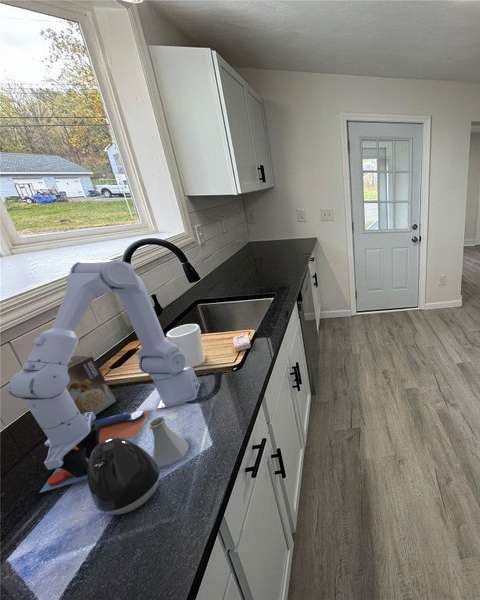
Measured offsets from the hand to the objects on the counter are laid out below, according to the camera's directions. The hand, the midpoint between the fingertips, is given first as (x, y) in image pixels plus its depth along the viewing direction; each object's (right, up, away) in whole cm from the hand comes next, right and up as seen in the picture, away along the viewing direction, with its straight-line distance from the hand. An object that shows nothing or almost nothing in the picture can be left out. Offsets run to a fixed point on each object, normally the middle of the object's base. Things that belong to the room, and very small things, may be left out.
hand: (89, 465), depth 70 cm
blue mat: (-2, -1, +2) cm, 3 cm away
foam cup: (-3, +15, +41) cm, 44 cm away
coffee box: (-19, +5, +20) cm, 27 cm away
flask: (+16, +1, +4) cm, 16 cm away
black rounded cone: (+16, -4, -6) cm, 17 cm away
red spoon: (-1, -1, 0) cm, 2 cm away
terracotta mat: (-6, +3, +12) cm, 13 cm away
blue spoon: (-6, +4, +14) cm, 16 cm away
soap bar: (+9, +21, +50) cm, 55 cm away
